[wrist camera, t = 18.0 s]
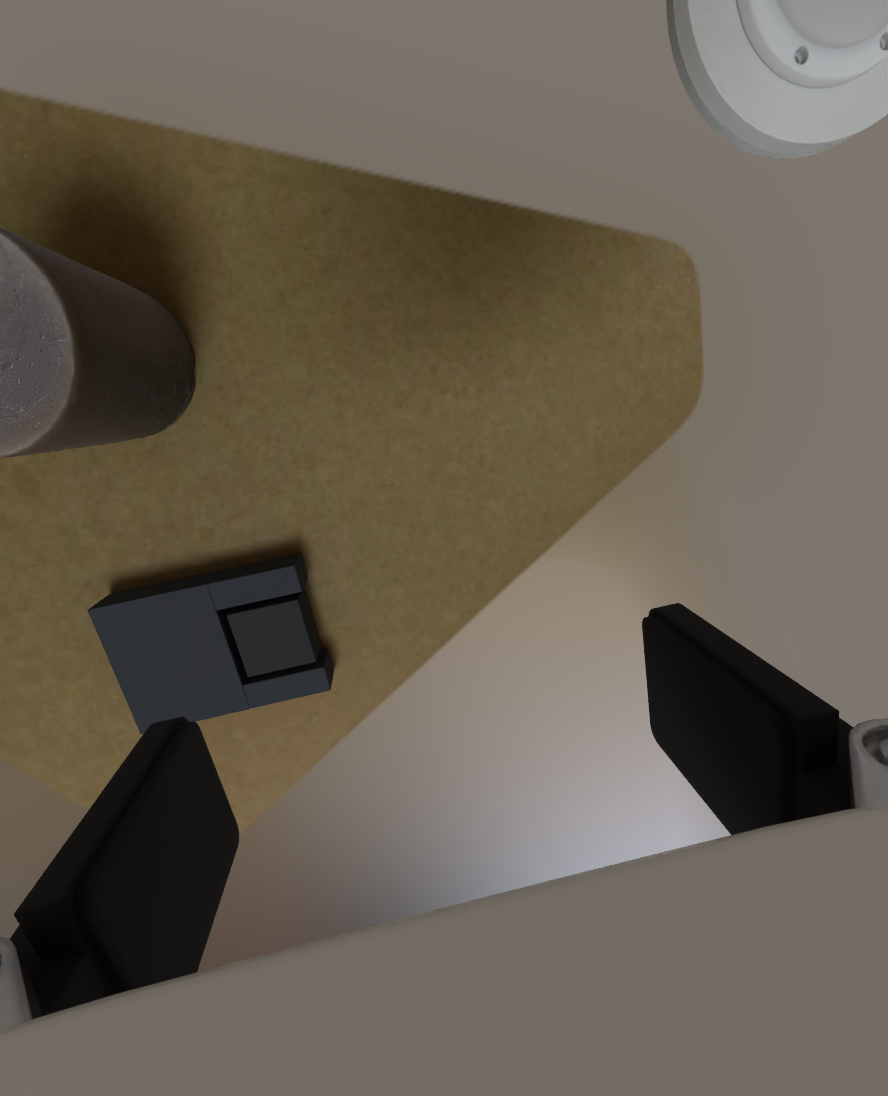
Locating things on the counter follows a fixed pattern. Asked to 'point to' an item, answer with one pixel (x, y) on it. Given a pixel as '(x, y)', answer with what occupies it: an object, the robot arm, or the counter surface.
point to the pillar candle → (82, 355)
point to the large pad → (199, 644)
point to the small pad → (275, 633)
